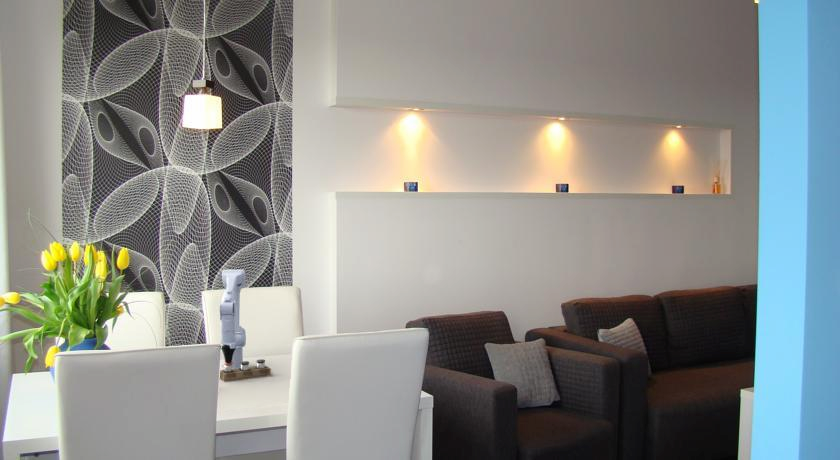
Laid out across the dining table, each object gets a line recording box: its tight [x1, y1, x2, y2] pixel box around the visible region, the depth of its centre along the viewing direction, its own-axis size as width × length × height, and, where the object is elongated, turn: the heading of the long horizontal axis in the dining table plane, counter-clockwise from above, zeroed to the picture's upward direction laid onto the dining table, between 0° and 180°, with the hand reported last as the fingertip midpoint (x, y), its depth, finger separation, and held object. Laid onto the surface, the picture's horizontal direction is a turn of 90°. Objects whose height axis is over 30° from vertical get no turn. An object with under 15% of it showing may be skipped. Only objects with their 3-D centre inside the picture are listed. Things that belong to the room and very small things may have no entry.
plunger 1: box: [241, 360, 250, 371], centre depth 309 cm, size 4×4×6 cm
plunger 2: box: [256, 358, 266, 369], centre depth 313 cm, size 4×4×6 cm
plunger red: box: [223, 361, 233, 373], centre depth 306 cm, size 4×4×6 cm
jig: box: [219, 365, 272, 382], centre depth 309 cm, size 8×20×3 cm, turn 121°
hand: (228, 362), depth 306 cm, fingers closed, pressing on plunger red
